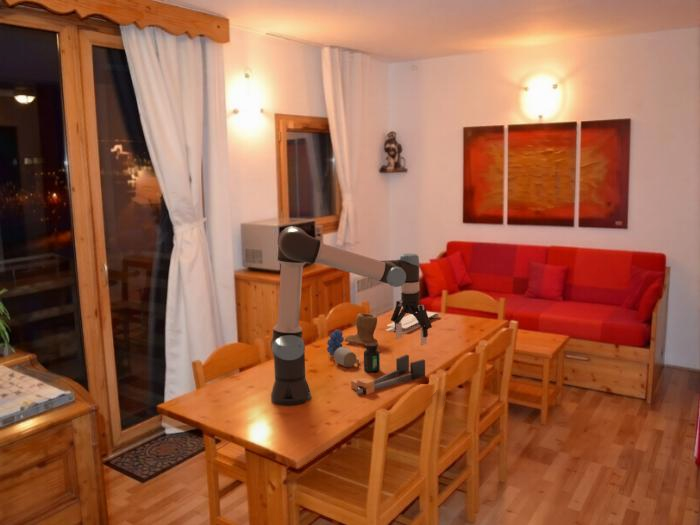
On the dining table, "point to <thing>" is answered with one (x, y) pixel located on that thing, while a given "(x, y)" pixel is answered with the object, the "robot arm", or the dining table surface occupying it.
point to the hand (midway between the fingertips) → (411, 341)
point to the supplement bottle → (371, 358)
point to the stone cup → (364, 329)
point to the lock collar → (363, 384)
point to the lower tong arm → (415, 372)
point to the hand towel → (409, 323)
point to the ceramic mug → (345, 357)
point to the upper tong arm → (401, 368)
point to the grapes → (335, 342)
